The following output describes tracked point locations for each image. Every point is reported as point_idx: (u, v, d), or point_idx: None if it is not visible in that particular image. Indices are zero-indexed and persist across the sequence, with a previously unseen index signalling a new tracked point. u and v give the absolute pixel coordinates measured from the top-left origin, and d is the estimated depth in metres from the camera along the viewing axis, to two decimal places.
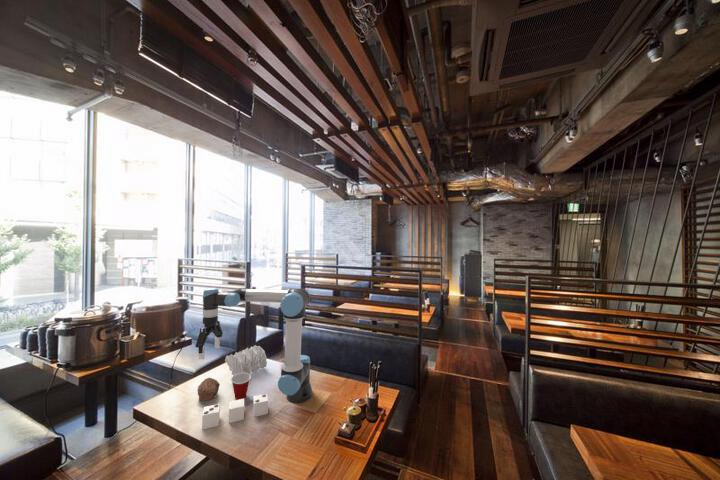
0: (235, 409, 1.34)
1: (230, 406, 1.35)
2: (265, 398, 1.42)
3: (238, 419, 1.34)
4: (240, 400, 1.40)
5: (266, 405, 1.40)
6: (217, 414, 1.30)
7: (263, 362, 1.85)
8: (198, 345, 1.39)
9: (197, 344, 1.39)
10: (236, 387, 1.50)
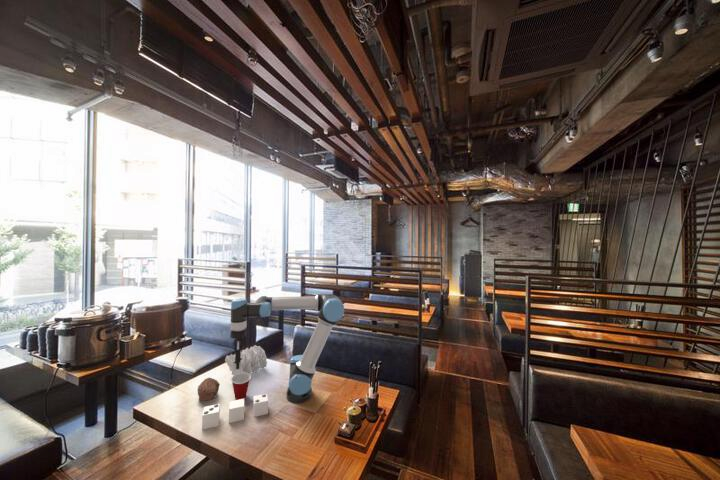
0: (235, 409, 1.34)
1: (230, 406, 1.35)
2: (265, 398, 1.42)
3: (238, 419, 1.34)
4: (240, 400, 1.40)
5: (266, 405, 1.40)
6: (217, 414, 1.30)
7: (263, 362, 1.85)
8: (238, 361, 1.34)
9: (236, 361, 1.34)
10: (236, 387, 1.50)
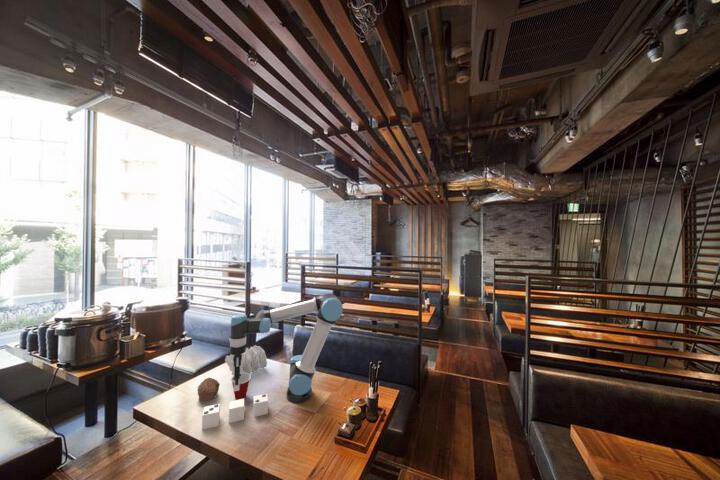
0: (235, 409, 1.34)
1: (230, 406, 1.35)
2: (265, 398, 1.42)
3: (238, 419, 1.34)
4: (240, 400, 1.40)
5: (266, 405, 1.40)
6: (217, 414, 1.30)
7: (263, 362, 1.85)
8: (237, 378, 1.34)
9: (236, 377, 1.34)
10: None
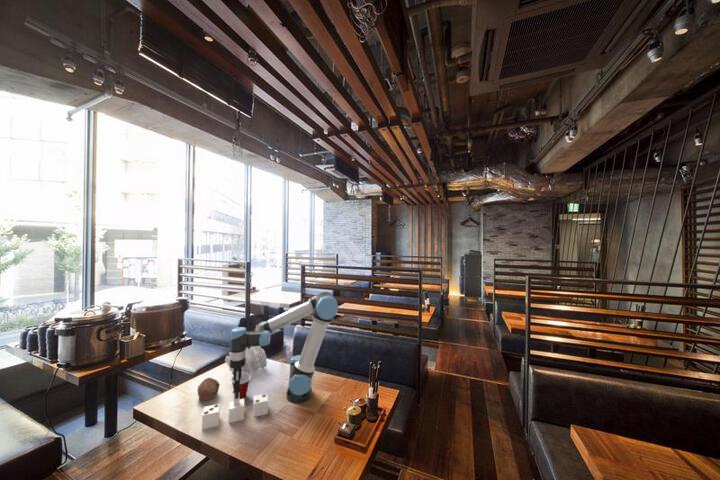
0: (235, 409, 1.34)
1: (230, 406, 1.35)
2: (265, 398, 1.42)
3: (238, 419, 1.34)
4: (240, 400, 1.40)
5: (266, 405, 1.40)
6: (217, 414, 1.30)
7: (263, 362, 1.85)
8: (237, 391, 1.34)
9: (236, 391, 1.34)
10: None
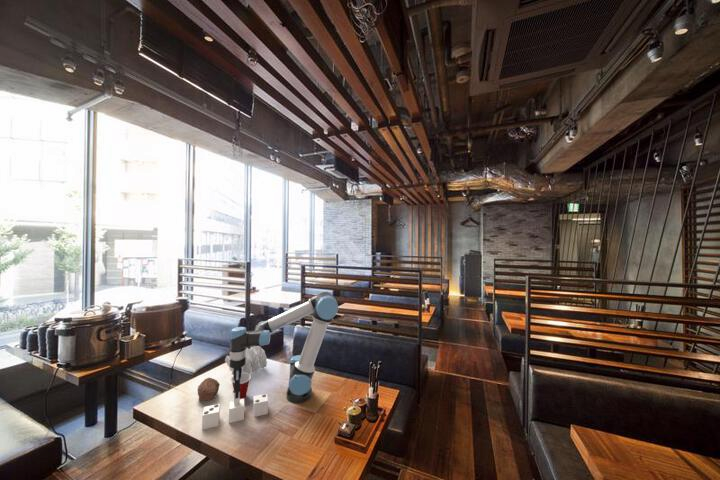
0: (235, 409, 1.34)
1: (230, 406, 1.35)
2: (265, 398, 1.42)
3: (238, 419, 1.34)
4: (240, 400, 1.40)
5: (266, 405, 1.40)
6: (217, 414, 1.30)
7: (263, 362, 1.85)
8: (237, 391, 1.34)
9: (236, 390, 1.34)
10: None
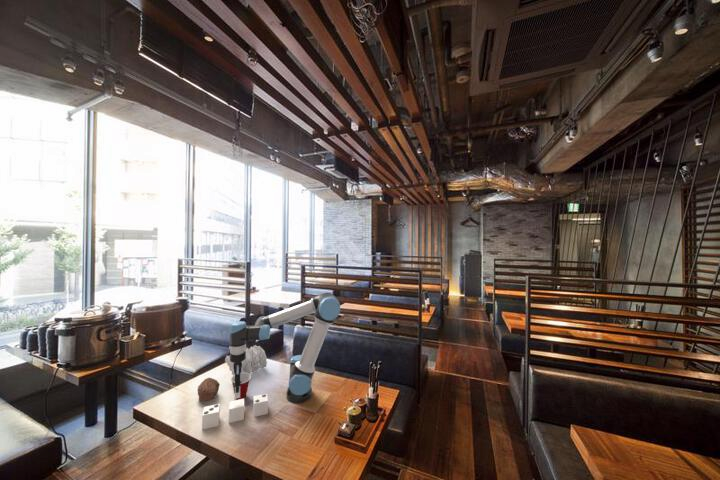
0: (235, 409, 1.34)
1: (230, 406, 1.35)
2: (265, 398, 1.42)
3: (238, 419, 1.34)
4: (240, 400, 1.40)
5: (266, 405, 1.40)
6: (217, 414, 1.30)
7: (263, 362, 1.85)
8: (238, 385, 1.34)
9: (236, 385, 1.34)
10: None
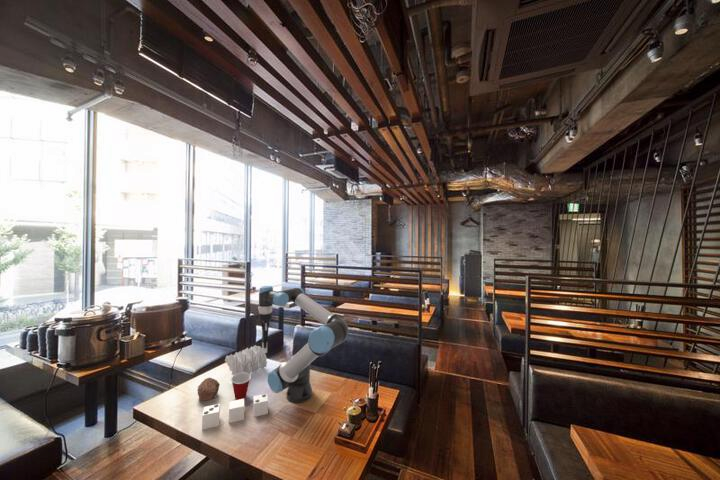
0: (235, 409, 1.34)
1: (230, 406, 1.35)
2: (265, 398, 1.42)
3: (238, 419, 1.34)
4: (240, 400, 1.40)
5: (266, 405, 1.40)
6: (217, 414, 1.30)
7: (263, 362, 1.85)
8: (266, 341, 1.51)
9: (264, 340, 1.51)
10: (236, 387, 1.50)
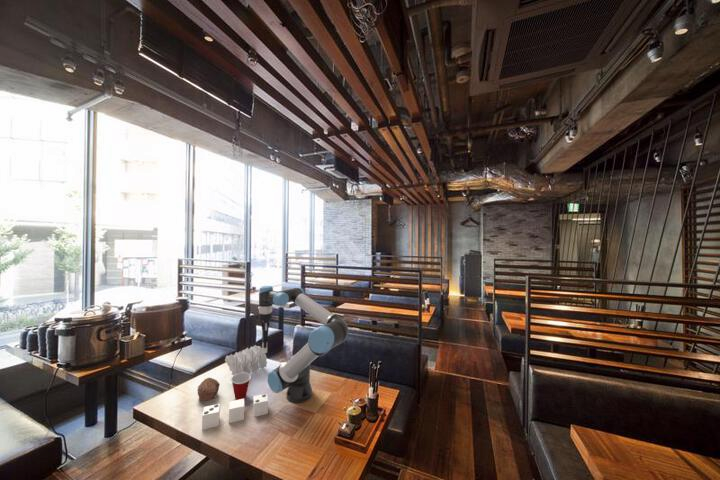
0: (235, 409, 1.34)
1: (230, 406, 1.35)
2: (265, 398, 1.42)
3: (238, 419, 1.34)
4: (240, 400, 1.40)
5: (266, 405, 1.40)
6: (217, 414, 1.30)
7: (263, 362, 1.85)
8: (266, 341, 1.51)
9: (264, 340, 1.51)
10: (236, 387, 1.50)
